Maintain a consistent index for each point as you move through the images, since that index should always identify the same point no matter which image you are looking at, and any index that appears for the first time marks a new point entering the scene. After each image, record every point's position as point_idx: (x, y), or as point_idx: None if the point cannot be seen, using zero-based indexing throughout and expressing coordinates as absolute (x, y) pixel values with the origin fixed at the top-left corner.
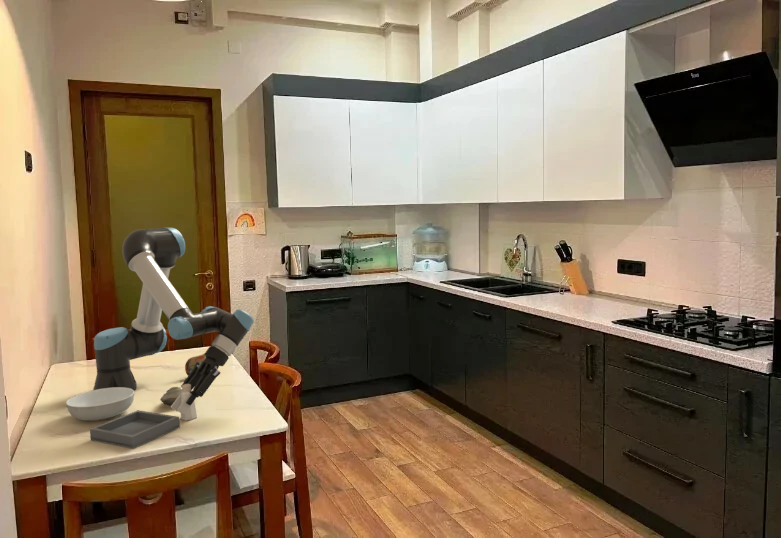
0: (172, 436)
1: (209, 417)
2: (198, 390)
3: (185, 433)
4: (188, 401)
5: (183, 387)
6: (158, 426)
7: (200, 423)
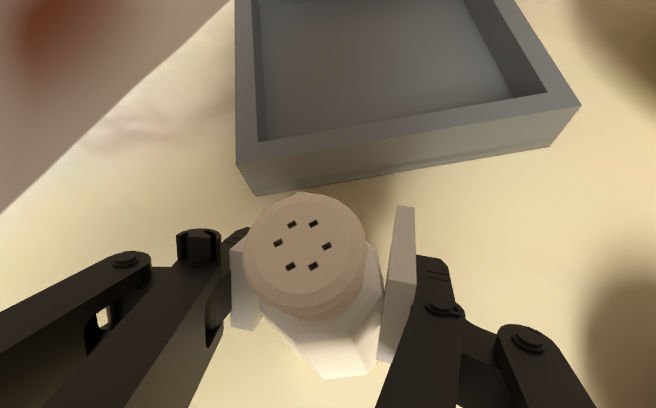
0: (204, 125)
1: (216, 400)
2: (88, 268)
3: (173, 169)
4: (235, 233)
5: (299, 198)
6: (236, 60)
7: None
